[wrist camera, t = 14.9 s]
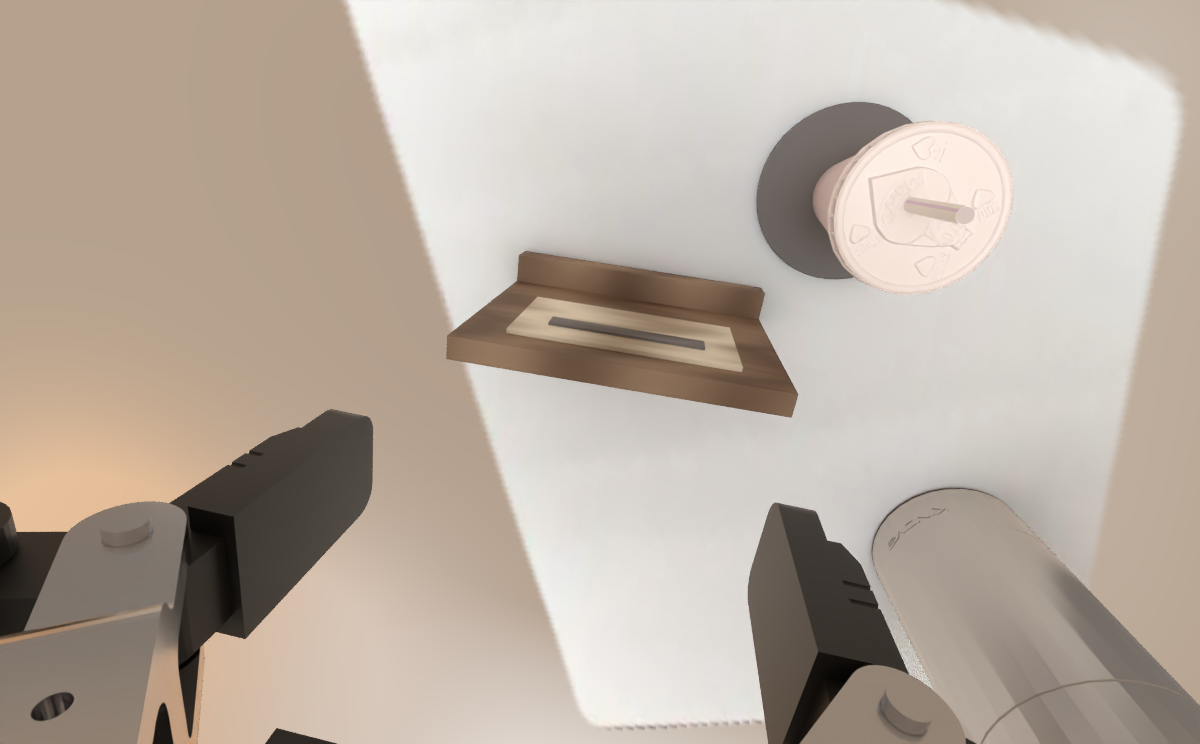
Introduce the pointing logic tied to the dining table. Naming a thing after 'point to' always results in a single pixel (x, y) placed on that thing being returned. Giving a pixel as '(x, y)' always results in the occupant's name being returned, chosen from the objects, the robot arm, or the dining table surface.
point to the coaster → (814, 181)
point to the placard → (630, 333)
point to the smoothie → (916, 206)
